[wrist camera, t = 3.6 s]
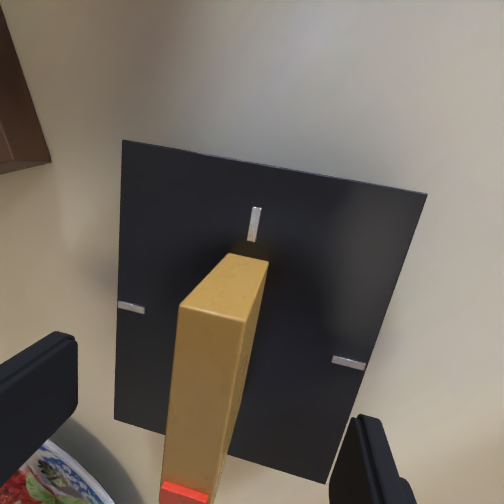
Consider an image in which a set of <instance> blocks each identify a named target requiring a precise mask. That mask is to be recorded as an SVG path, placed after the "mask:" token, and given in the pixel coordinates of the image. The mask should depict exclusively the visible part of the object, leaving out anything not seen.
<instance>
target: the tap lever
mask: <svg viewBox="0 0 504 504" xmlns="http://www.w3.org/2000/svg"><path fill="white" fill-rule="evenodd" d="M268 265H269V262H267V261H263V260H259V259H254V258H250V257H245V256H241V255H236V254H232V253H228V254H227V255H226V256H225V257H224V258H223V259H222V260H221V261H220V262H219V263H218V264H217V265H216V266H215V267H214V269H213V270H212V271H211V272H210V273H209V274H208V275H207V276H206V277H205V278H204V279H203V280H202V281H201V282H200V283H199V284H198V285H197V286H196V287H195V289H194V290H193V291H192V292H191V293H190V294H189V295H188V296H187V297H186V298H185V299H184V300H183V301H182V302H181V303H180V305H179V310H178V319H177V329H176V338H175V348H174V358H173V367H172V377H171V387H170V396H169V406H168V416H167V425H166V435H165V444H164V454H163V464H162V473H161V483H160V493H159V502H160V503H159V504H213V503H214V500H215V496H216V492H217V489H218V485H219V481H220V478H221V474H222V470H223V467H224V463H225V459H226V456H227V452H228V448H229V444H230V441H231V437H232V433H233V430H234V426H235V422H236V419H237V415H238V411H239V408H240V404H241V400H242V395H243V390H244V385H245V380H246V375H247V370H248V365H249V360H250V355H251V350H252V345H253V340H254V335H255V330H256V325H257V320H258V315H259V310H260V305H261V300H262V295H263V290H264V285H265V280H266V275H267V270H268Z"/></svg>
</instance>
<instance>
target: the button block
mask: <svg viewBox="0 0 504 504" xmlns="http://www.w3.org/2000/svg"><path fill="white" fill-rule="evenodd" d="M50 162H51V159H50V156H49V153H48V150H47V147H46V144H45V141H44V138H43V135H42V132H41V129H40V126H39V123H38V120H37V117H36V114H35V111H34V108H33V104H32V101H31V98H30V95H29V92H28V89H27V86H26V83H25V80H24V77H23V74H22V71H21V68H20V65H19V62H18V59H17V56H16V53H15V50H14V47H13V44H12V41H11V38H10V35H9V32H8V29H7V26H6V23H5V20H4V17H3V14H2V11H1V8H0V174H3V173H7V172H11V171H16V170H20V169H24V168H28V167H33V166H37V165H41V164H45V163H50Z"/></svg>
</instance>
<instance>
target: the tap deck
mask: <svg viewBox="0 0 504 504" xmlns="http://www.w3.org/2000/svg"><path fill="white" fill-rule="evenodd" d="M427 195H428V194H427V193H422V192H416V191H410V190H405V189H399V188H394V187H388V186H382V185H377V184H371V183H365V182H360V181H354V180H349V179H343V178H337V177H332V176H326V175H321V174H315V173H309V172H304V171H298V170H292V169H287V168H281V167H276V166H270V165H264V164H259V163H253V162H247V161H242V160H236V159H231V158H225V157H219V156H214V155H208V154H203V153H197V152H191V151H186V150H180V149H174V148H169V147H163V146H158V145H152V144H146V143H141V142H135V141H130V140H122V166H121V199H120V232H119V265H118V298H117V331H116V364H115V397H114V419H115V420H118V421H121V422H124V423H128V424H131V425H134V426H137V427H140V428H144V429H147V430H150V431H153V432H157V433H160V434H163V435H166V425H167V416H168V406H169V396H170V387H171V377H172V367H173V358H174V348H175V338H176V329H177V319H178V310H179V305H180V303H181V302H182V301H183V300H184V299H185V298H186V297H187V296H188V295H189V294H190V293H191V292H192V291H193V290H194V289H195V287H196V286H197V285H198V284H199V283H200V282H201V281H202V280H203V279H204V278H205V277H206V276H207V275H208V274H209V273H210V272H211V271H212V270H213V269H214V267H215V266H216V265H217V264H218V263H219V262H220V261H221V260H222V259H223V258H224V257H225V256H226V255H227V254H228V253H232V254H236V255H241V256H245V257H250V258H254V259H259V260H263V261H267V262H269V265H268V270H267V275H266V280H265V285H264V290H263V295H262V300H261V305H260V310H259V315H258V320H257V325H256V330H255V335H254V340H253V345H252V350H251V355H250V360H249V365H248V370H247V375H246V380H245V385H244V390H243V395H242V400H241V404H240V408H239V411H238V415H237V419H236V422H235V426H234V430H233V433H232V437H231V441H230V444H229V448H228V452H227V454H228V455H231V456H234V457H237V458H241V459H244V460H247V461H250V462H253V463H257V464H260V465H263V466H266V467H270V468H273V469H276V470H279V471H282V472H286V473H289V474H292V475H295V476H299V477H302V478H305V479H308V480H311V481H315V482H318V483H321V484H324V485H325V484H326V481H327V478H328V475H329V472H330V470H331V467H332V464H333V461H334V458H335V456H336V453H337V450H338V447H339V444H340V441H341V439H342V436H343V433H344V430H345V427H346V424H347V422H348V419H349V416H350V413H351V410H352V407H353V405H354V402H355V399H356V396H357V393H358V390H359V388H360V385H361V382H362V379H363V376H364V373H365V371H366V368H367V365H368V362H369V359H370V356H371V354H372V351H373V348H374V345H375V342H376V340H377V337H378V334H379V331H380V328H381V325H382V323H383V320H384V317H385V314H386V311H387V308H388V306H389V303H390V300H391V297H392V294H393V291H394V289H395V286H396V283H397V280H398V277H399V274H400V272H401V269H402V266H403V263H404V260H405V257H406V255H407V252H408V249H409V246H410V243H411V241H412V238H413V235H414V232H415V229H416V226H417V224H418V221H419V218H420V215H421V212H422V209H423V207H424V204H425V201H426V198H427Z"/></svg>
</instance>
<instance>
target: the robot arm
mask: <svg viewBox="0 0 504 504" xmlns="http://www.w3.org/2000/svg"><path fill="white" fill-rule="evenodd" d="M77 404H78V344H77V342H76V341H75V338H74V336H72V335H69V334H66V333H62V332H58V331H55V332H52V333H51V334H49V335H47V336H46V337H44V338H42V339H41V340H39V341H38V342H36V343H34V344H33V345H31V346H30V347H28V348H26V349H25V350H23V351H21V352H20V353H18V354H17V355H15V356H13V357H12V358H10V359H9V360H7V361H5V362H4V363H2V364H0V488H1V487H2V486H3V485H4V484H5V483H6V482H7V481H8V480H9V479H10V478H11V477H12V476H13V475H14V474H15V473H16V472H17V470H18V469H19V468H20V467H21V466H22V465H23V464H24V463H25V462H26V461H27V460H28V459H29V458H30V457H31V456H32V455H33V454H34V453H35V452H36V451H37V450H38V449H39V448H40V447H41V446H42V445H43V444H44V443H45V442H46V441H47V440H48V439H49V438H50V436H51V435H52V434H53V433H54V432H55V431H56V430H57V429H58V428H59V427H60V426H61V425H62V424H63V423H64V422H65V421H66V420H67V419H68V418H69V417H70V416H71V415H72V414H73V412H74V411H75V409H76V407H77ZM329 502H330V504H417V502H416V500H415V497H414V494H413V491H412V489H411V487H410V484H409V483H408V482H407V480H406V479H404V478H401V477H399V474H398V471H397V468H396V465H395V462H394V459H393V456H392V453H391V450H390V447H389V444H388V441H387V438H386V435H385V432H384V429H383V426H382V423H381V421H380V420H379V419H377V418H373V417H370V416H366V415H362V414H359V415H358V417H357V418H354V417H352V418H351V420H350V423H349V426H348V429H347V432H346V435H345V437H344V440H343V443H342V446H341V449H340V452H339V455H338V457H337V460H336V463H335V466H334V469H333V472H332V475H331V478H330V482H329Z"/></svg>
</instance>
